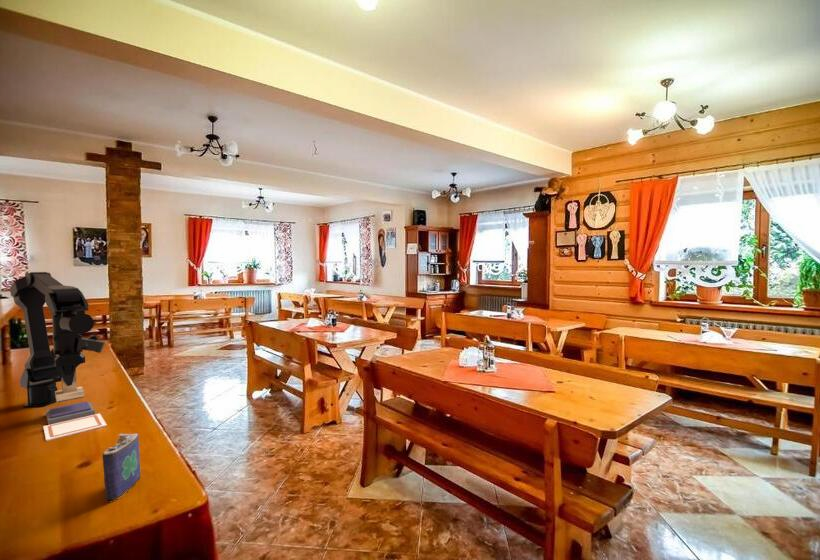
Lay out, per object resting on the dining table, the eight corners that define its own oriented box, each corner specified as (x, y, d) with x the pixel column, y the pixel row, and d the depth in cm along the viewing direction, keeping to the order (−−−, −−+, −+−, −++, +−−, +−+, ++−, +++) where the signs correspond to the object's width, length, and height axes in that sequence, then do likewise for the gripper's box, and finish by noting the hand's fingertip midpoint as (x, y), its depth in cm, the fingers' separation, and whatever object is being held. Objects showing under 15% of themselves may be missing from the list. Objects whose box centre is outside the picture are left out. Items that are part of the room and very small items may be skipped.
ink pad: (46, 415, 113) (45, 408, 113) (90, 405, 120) (89, 399, 120) (48, 424, 106) (47, 418, 106) (94, 414, 113) (94, 407, 113)
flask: (130, 475, 79) (128, 424, 79) (145, 474, 80) (143, 423, 79) (100, 503, 70) (98, 445, 70) (118, 501, 71) (116, 444, 70)
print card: (43, 427, 104) (43, 425, 104) (99, 414, 113) (99, 413, 113) (46, 441, 96) (46, 439, 96) (106, 425, 104) (106, 424, 104)
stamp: (55, 398, 113) (53, 370, 113) (81, 392, 117) (80, 366, 117) (56, 402, 109) (55, 374, 108) (84, 397, 113) (83, 370, 113)
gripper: (106, 331, 111) (109, 384, 112) (96, 324, 124) (98, 372, 125) (54, 336, 103) (57, 394, 104) (49, 329, 116) (52, 380, 117)
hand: (68, 384), depth 113 cm, fingers closed on stamp, 3 cm apart
